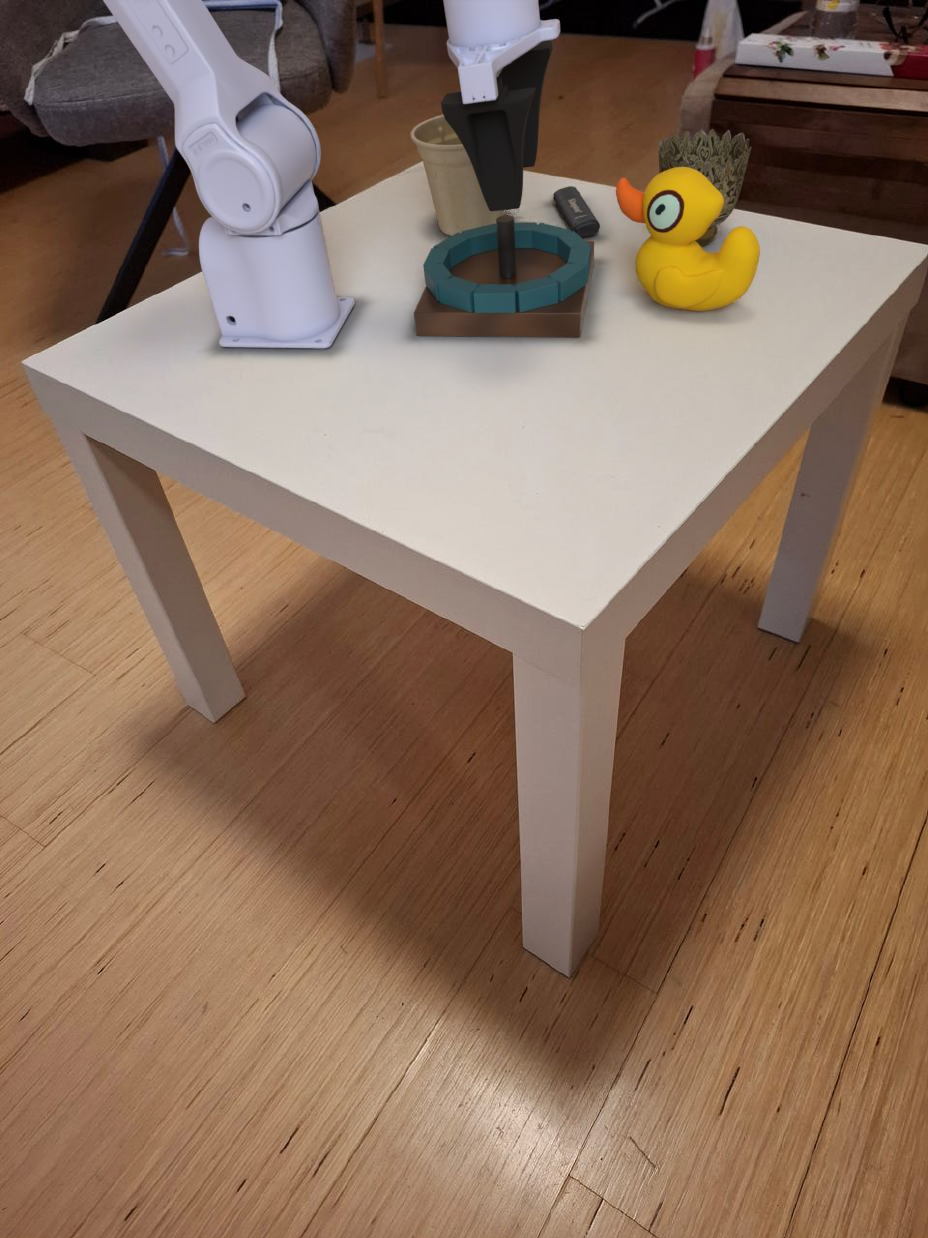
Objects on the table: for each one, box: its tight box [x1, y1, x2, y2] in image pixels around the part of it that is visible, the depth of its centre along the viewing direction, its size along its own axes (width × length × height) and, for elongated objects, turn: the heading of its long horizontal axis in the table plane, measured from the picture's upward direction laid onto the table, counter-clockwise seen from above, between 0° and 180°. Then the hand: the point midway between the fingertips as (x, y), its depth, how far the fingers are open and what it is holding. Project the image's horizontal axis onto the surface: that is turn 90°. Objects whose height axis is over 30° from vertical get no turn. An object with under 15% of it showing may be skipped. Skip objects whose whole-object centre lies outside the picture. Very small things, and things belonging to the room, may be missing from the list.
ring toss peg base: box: [413, 214, 595, 338], centre depth 71 cm, size 13×13×6 cm
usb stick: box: [552, 185, 601, 238], centre depth 82 cm, size 10×3×2 cm, turn 8°
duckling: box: [615, 167, 761, 312], centre depth 66 cm, size 11×5×10 cm, turn 58°
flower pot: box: [410, 114, 505, 237], centre depth 81 cm, size 9×9×9 cm
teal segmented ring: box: [423, 221, 591, 313], centre depth 71 cm, size 13×13×2 cm
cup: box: [658, 128, 752, 247], centre depth 75 cm, size 8×7×8 cm
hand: (513, 186), depth 61 cm, fingers open, 7 cm apart
